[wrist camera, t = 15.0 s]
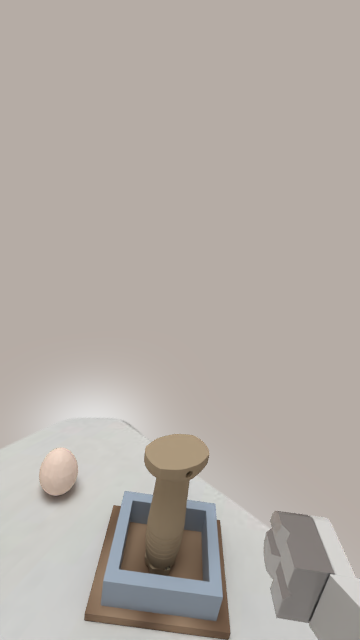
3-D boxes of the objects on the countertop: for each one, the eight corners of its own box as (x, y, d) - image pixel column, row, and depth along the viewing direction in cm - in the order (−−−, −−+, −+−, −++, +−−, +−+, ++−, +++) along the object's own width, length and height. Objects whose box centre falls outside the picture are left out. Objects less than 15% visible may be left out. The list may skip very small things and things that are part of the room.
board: (218, 526, 43) (219, 520, 42) (228, 639, 31) (230, 633, 31) (112, 511, 43) (113, 505, 42) (84, 620, 31) (84, 613, 31)
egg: (50, 512, 41) (51, 470, 39) (32, 488, 44) (32, 448, 42) (83, 492, 45) (86, 452, 43) (65, 471, 48) (66, 433, 45)
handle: (195, 571, 36) (218, 458, 32) (141, 599, 32) (159, 476, 28) (173, 534, 40) (191, 429, 36) (124, 556, 36) (137, 442, 32)
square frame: (210, 524, 42) (215, 503, 41) (216, 621, 32) (222, 597, 31) (122, 512, 42) (124, 490, 40) (100, 605, 32) (103, 580, 31)
